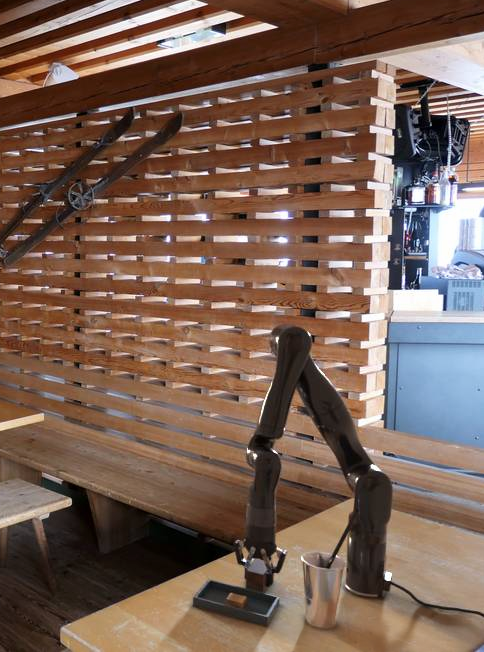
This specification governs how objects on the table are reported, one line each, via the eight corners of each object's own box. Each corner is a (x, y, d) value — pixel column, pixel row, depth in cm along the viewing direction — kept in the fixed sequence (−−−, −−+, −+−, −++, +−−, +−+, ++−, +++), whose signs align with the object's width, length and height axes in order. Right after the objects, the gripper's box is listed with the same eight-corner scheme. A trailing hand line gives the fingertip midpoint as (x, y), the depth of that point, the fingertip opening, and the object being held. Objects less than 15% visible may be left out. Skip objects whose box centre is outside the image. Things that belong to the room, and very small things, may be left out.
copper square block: (246, 602, 186) (246, 596, 186) (242, 609, 182) (242, 603, 182) (230, 598, 188) (230, 592, 188) (225, 605, 184) (226, 598, 184)
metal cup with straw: (354, 637, 171) (359, 510, 168) (302, 631, 173) (307, 506, 171) (343, 614, 181) (348, 495, 179) (294, 609, 183) (299, 491, 181)
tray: (279, 605, 185) (279, 596, 185) (267, 626, 175) (267, 617, 175) (208, 587, 195) (208, 578, 195) (192, 606, 185) (193, 597, 185)
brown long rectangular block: (271, 582, 199) (272, 562, 198) (263, 595, 191) (263, 574, 190) (254, 578, 201) (255, 558, 200) (245, 590, 193) (246, 570, 193)
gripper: (292, 522, 194) (289, 585, 195) (237, 511, 202) (235, 571, 203) (285, 531, 188) (283, 596, 189) (229, 519, 195) (227, 582, 196)
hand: (258, 583), depth 196 cm, fingers closed on brown long rectangular block, 4 cm apart
